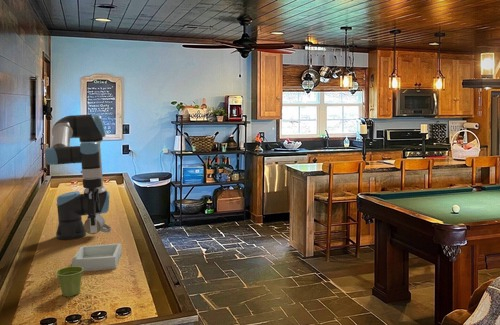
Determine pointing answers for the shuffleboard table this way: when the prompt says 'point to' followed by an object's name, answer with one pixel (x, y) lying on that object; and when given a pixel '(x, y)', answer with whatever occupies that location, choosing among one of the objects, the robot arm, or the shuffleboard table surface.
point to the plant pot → (70, 280)
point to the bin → (98, 257)
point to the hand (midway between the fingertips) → (95, 230)
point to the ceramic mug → (99, 225)
